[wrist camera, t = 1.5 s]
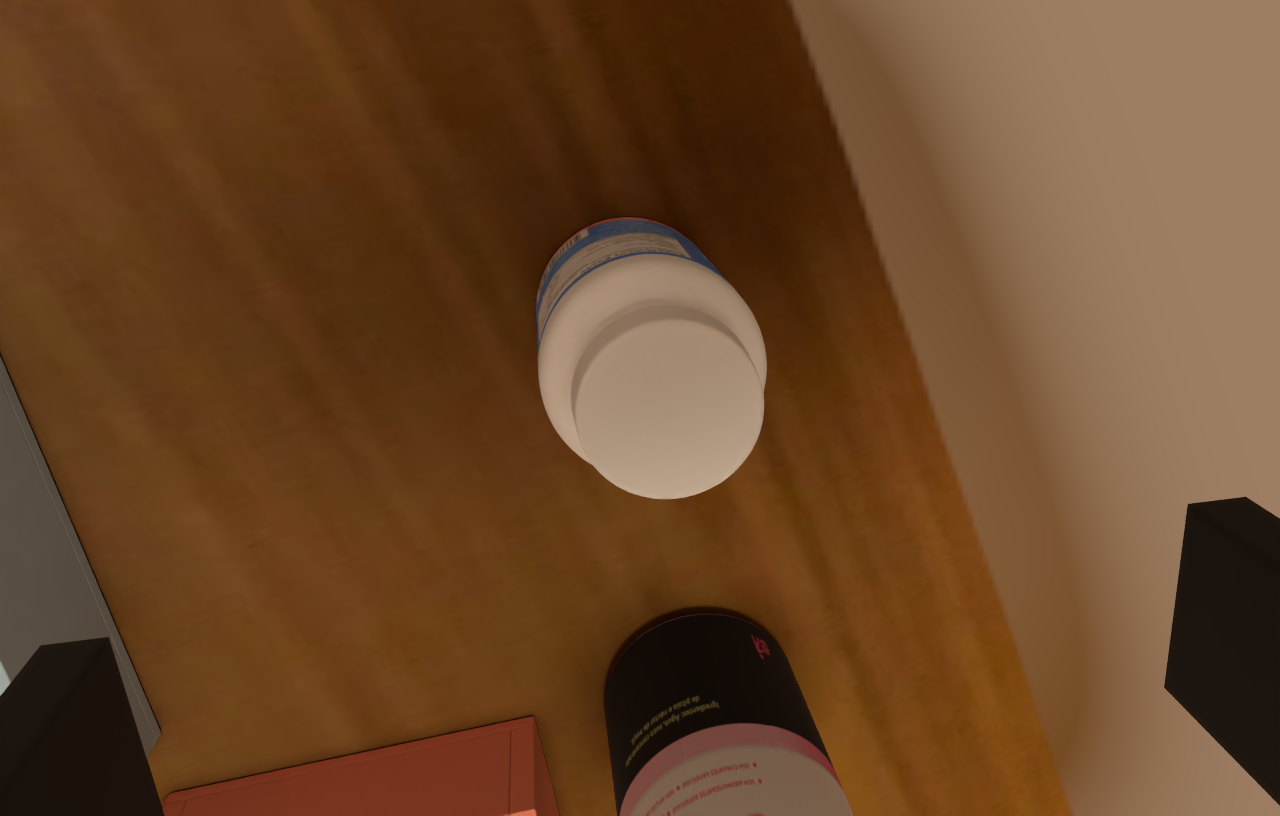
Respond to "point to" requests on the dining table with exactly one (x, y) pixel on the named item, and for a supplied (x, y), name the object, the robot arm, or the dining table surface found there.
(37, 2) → the dining table surface
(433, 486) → the dining table surface
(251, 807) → the can bin
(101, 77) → the dining table surface
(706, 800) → the beverage can
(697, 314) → the pill bottle
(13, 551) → the bin
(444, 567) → the dining table surface
